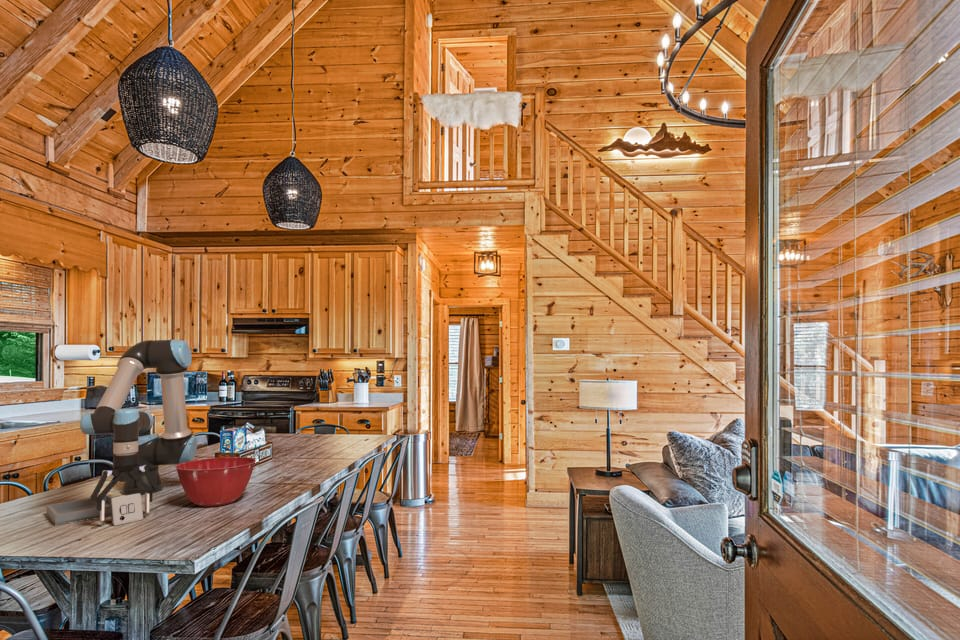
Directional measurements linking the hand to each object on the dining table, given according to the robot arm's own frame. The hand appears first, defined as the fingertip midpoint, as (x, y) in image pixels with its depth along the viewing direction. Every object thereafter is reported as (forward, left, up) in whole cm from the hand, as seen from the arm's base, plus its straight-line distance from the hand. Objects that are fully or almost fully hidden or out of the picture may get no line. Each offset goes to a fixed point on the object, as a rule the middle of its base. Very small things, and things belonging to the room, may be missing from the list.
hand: (125, 515), depth 203 cm
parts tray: (+8, -23, -2) cm, 24 cm away
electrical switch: (0, 0, -2) cm, 2 cm away
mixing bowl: (-32, -4, -2) cm, 32 cm away
